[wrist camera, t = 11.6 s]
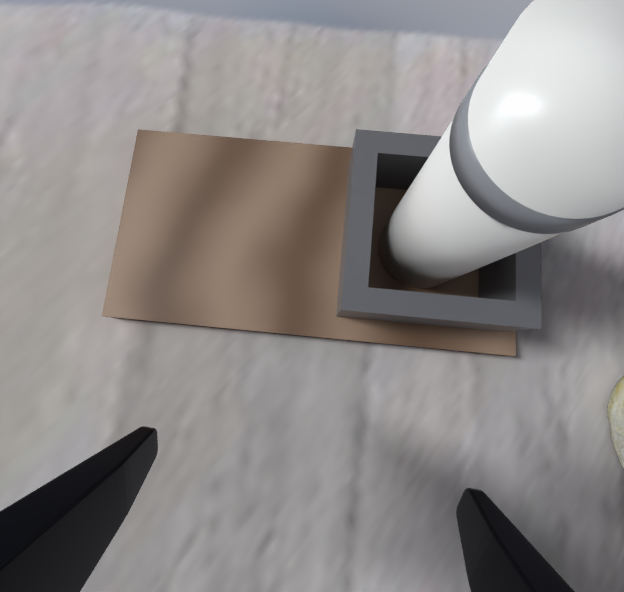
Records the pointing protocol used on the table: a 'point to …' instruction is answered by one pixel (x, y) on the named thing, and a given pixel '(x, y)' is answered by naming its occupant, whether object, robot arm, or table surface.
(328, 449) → the table surface
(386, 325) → the board
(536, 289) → the socket collar
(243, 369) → the table surface
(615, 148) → the white capped cylinder
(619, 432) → the bread roll
